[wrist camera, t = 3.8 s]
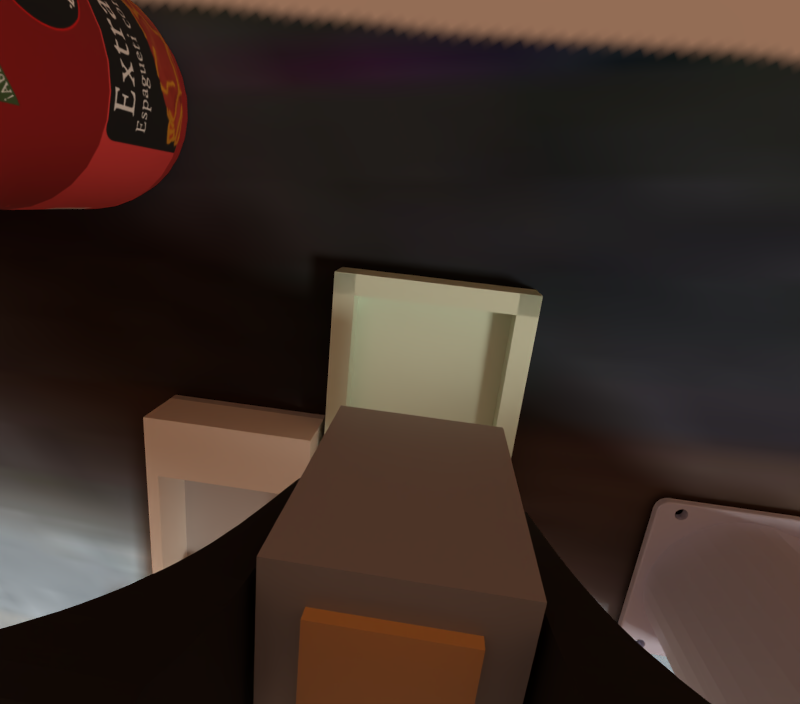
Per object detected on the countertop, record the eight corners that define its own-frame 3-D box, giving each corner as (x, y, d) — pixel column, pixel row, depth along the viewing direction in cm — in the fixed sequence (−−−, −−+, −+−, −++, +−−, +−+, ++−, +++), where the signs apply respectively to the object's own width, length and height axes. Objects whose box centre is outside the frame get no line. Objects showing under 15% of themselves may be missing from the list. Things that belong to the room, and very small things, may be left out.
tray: (536, 289, 19) (542, 296, 17) (494, 510, 22) (497, 530, 20) (342, 266, 19) (334, 271, 18) (327, 485, 22) (319, 503, 21)
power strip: (325, 415, 21) (307, 447, 18) (301, 789, 28) (285, 852, 25) (175, 394, 21) (135, 422, 19) (189, 768, 28) (162, 828, 26)
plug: (503, 427, 13) (550, 616, 7) (478, 563, 14) (499, 823, 8) (340, 405, 13) (249, 568, 7) (330, 540, 14) (246, 775, 8)
